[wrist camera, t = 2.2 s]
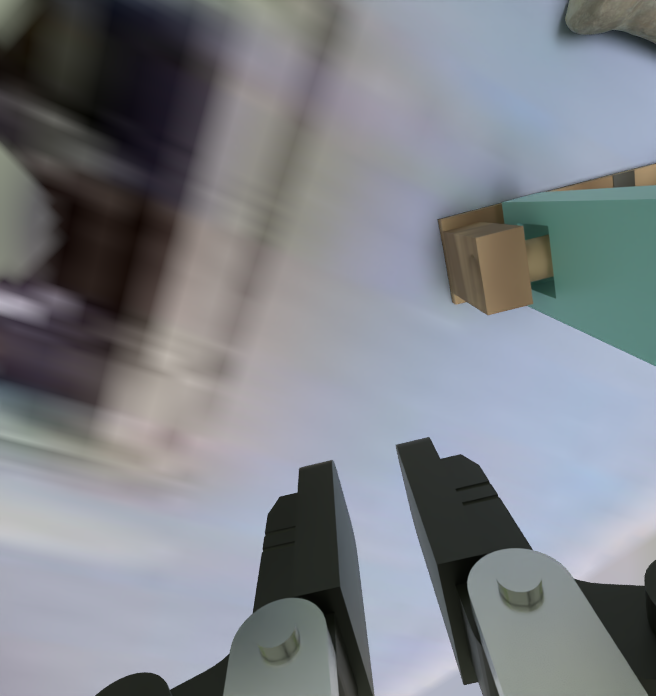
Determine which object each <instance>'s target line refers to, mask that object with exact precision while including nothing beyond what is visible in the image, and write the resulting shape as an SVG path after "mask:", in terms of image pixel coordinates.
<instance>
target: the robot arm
mask: <svg viewBox="0 0 656 696" xmlns="http://www.w3.org/2000/svg"><path fill="white" fill-rule="evenodd" d="M396 450H397V455H398V459H399V463H400V468H401V472H402V476H403V480H404V485H405V489H406V493H407V497H408V502H409V506H410V510H411V514H412V518H413V522H414V525H415V529H416V533H417V536H418V539H419V543H420V546H421V549H422V552H423V555H424V559H425V562H426V565H427V568H428V572H429V575H430V578H431V581H432V584H433V588H434V591H435V594H436V597H437V601H438V604H439V607H440V610H441V613H442V617H443V620H444V623H445V626H446V630H447V633H448V636H449V639H450V642H451V646H452V649H453V652H454V655H455V659H456V662H457V665H458V668H459V671H460V675H461V678H462V681H463V684H464V685H467V684H471V683H476V682H478V683H479V685H480V688H481V691H482V694H483V696H656V560H655V561H654V562H653V563H651V564H650V566H649V567H648V569H647V570H646V573H645V586H635V585H614V584H598V583H590V582H585V581H580V580H577V579H573V577H572V575H571V574H570V573H569V572H568V570H567V569H566V568H565V567H564V566H563V565H562V564H561V563H559V562H558V561H556V560H555V559H553V558H552V557H550V556H548V555H546V554H543V553H540V552H538V551H534V550H533V549H532V548H531V546H530V545H529V543H528V541H527V540H526V538H525V537H524V535H523V534H522V532H521V530H520V529H519V527H518V526H517V524H516V523H515V521H514V519H513V518H512V516H511V515H510V513H509V512H508V510H507V508H506V507H505V505H504V504H503V502H502V500H501V499H500V498H499V497H498V494H497V493H496V491H495V489H494V488H493V486H492V485H491V484H490V482H489V480H488V478H487V477H486V475H485V474H484V472H483V470H482V469H481V467H480V466H479V465H478V464H476V463H475V462H473V461H471V460H470V459H468V458H466V457H465V456H463V455H461V454H460V455H455V456H451V457H447V458H443V459H440V457H439V455H438V453H437V451H436V449H435V447H434V445H433V443H432V441H431V439H430V438H429V437H427V438H423V439H418V440H414V441H410V442H406V443H402V444H397V445H396ZM265 535H266V536H265V537H264V543H263V552H262V556H261V562H260V569H259V575H258V582H257V588H256V595H255V601H254V608H253V614H252V615H251V616H250V617H249V618H248V619H247V620H246V621H245V622H244V623H243V624H242V625H241V627H240V628H239V630H238V631H237V633H236V635H235V637H234V639H233V642H232V645H231V649H230V654H229V655H227V656H226V657H225V658H224V659H223V660H222V661H220V662H219V663H218V664H216V665H215V666H213V667H212V668H210V669H208V670H207V671H205V672H203V673H201V674H199V675H197V676H195V677H193V678H192V679H190V680H188V681H186V682H184V683H182V684H180V685H178V686H176V687H175V688H173V689H171V690H170V689H169V687H168V685H167V683H166V682H165V681H164V679H163V678H161V677H160V676H158V675H156V674H153V673H146V672H144V673H136V674H132V675H128V676H126V677H124V678H121V679H119V680H117V681H115V682H114V683H112V684H110V685H109V686H107V687H106V688H104V689H103V690H101V691H100V692H99V693H98V694H97V695H95V696H374V688H373V680H372V671H371V663H370V655H369V647H368V638H367V630H366V622H365V614H364V605H363V597H362V589H361V581H360V572H359V564H358V556H357V548H356V542H355V537H354V533H353V528H352V524H351V520H350V517H349V513H348V509H347V506H346V502H345V499H344V495H343V491H342V488H341V484H340V481H339V477H338V473H337V470H336V467H335V464H334V461H333V460H330V461H326V462H322V463H317V464H313V465H309V466H305V467H301V468H299V479H298V493H294V494H290V495H285V496H281V497H279V499H278V500H277V502H276V503H275V505H274V506H273V508H272V509H271V511H270V512H269V513H268V517H267V523H266V530H265Z"/></svg>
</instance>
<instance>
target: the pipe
mask: <svg viewBox="0 0 656 696" xmlns="http://www.w3.org/2000/svg"><path fill="white" fill-rule="evenodd" d="M565 21H566V25H567V26H568V27H569V29H570V30H572V31H573V32H574V33H577V34H582V35H592V34H599V33H604V32H608V31H610V30H619V31H624V32H627V33H630V34H632V35H635V36H639V37H642V38H644V39H646V40H649V41H651V42H653V43H655V44H656V0H569V4H568V9H567V13H566V17H565Z"/></svg>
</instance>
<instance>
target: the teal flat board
mask: <svg viewBox="0 0 656 696" xmlns="http://www.w3.org/2000/svg"><path fill="white" fill-rule="evenodd" d="M502 209H503V216H504V223H505V224H508V225H519V226H523V228H524V236H525V240H528V239H532V238H536V237H540V236H544V235H548V234H549V238H550V247H551V256H552V265H553V274H554V276H553V277H549V278H545V279H541V280H537V281H533V282H531V290H532V298H533V304H531V305H527V306H528V307H531V308H533V309H535V310H537V311H539V312H541V313H543V314H546V315H548V316H550V317H552V318H554V319H556V320H558V321H560V322H563V323H565V324H567V325H569V326H571V327H573V328H575V329H577V330H580V331H582V332H584V333H586V334H588V335H590V336H592V337H594V338H597V339H599V340H601V341H603V342H605V343H607V344H609V345H611V346H614V347H616V348H618V349H620V350H622V351H624V352H626V353H629V354H631V355H633V356H635V357H637V358H639V359H641V360H643V361H646V362H648V363H650V364H652V365H654V366H656V185H650V186H634V187H618V188H602V189H585V190H569V191H553V192H540V193H536V194H532V195H528V196H524V197H520V198H517V199H513V200H509V201H505V202H502Z"/></svg>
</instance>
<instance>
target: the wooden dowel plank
mask: <svg viewBox="0 0 656 696" xmlns="http://www.w3.org/2000/svg"><path fill="white" fill-rule="evenodd" d="M650 185H656V163H655V164H651V165H647V166H643V167H639V168H635V169H631V170H627V171H624V172H620V173H616V174H612V175H608V176H604V177H600V178H596V179H593V180H589V181H585V182H581V183H577V184H573V185H569V186H565V187H562V188H558V189H554V190H550V191H546V192H553V191H569V190H585V189H602V188H618V187H634V186H650ZM438 223H439V229H440V234H441V240H442V245H443V251H444V257H445V262H446V268H447V273H448V279H449V285H450V290H451V296H452V302H453V303H454V304H460V303H464V302H468V303H469V304H471V305H472V306H474V307H476V308H477V309H479V310H480V311H482V312H483V313H485V314H487V315H491V314H495V313H499V312H503V311H507V310H511V309H515V308H519V307H523V306H527V305H531V304H533V298H532V290H531V282H533V281H537V280H541V279H545V278H549V277H553V276H554V274H553V265H552V256H551V247H550V238H549V234H548V235H544V236H540V237H536V238H532V239H528V240H525V236H524V228H523V226H519V225H508V224H505V223H504V216H503V209H502V203H500V204H496V205H492V206H488V207H484V208H480V209H476V210H472V211H469V212H465V213H461V214H457V215H453V216H449V217H445V218H441V219H438Z"/></svg>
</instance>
